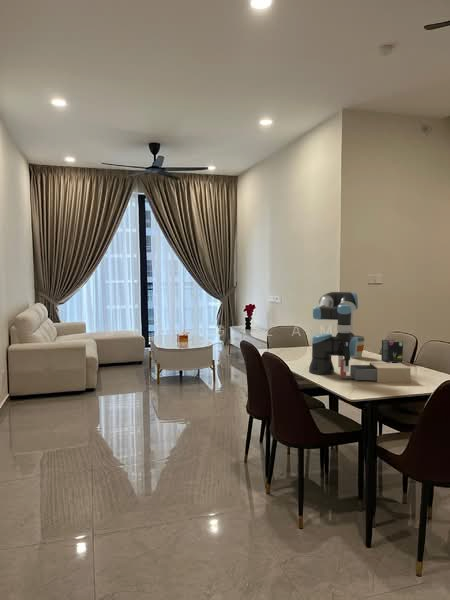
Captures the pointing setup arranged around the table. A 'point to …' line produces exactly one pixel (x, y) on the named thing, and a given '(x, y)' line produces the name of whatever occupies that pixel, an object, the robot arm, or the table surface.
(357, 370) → the tray
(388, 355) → the tampon box
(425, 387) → the table surface
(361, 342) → the reusable coffee cup
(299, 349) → the table surface
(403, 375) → the sleeve
